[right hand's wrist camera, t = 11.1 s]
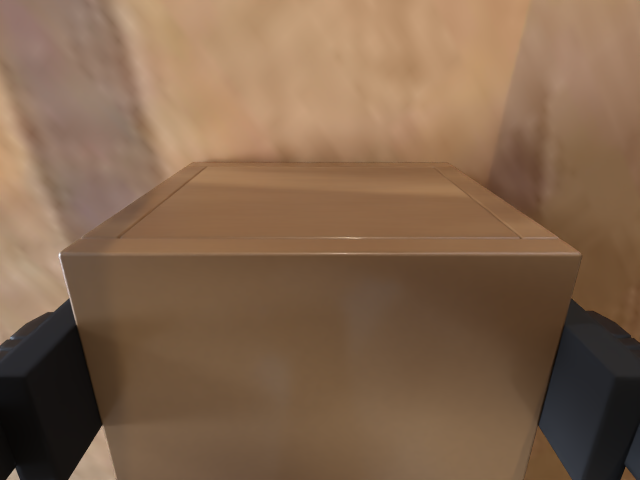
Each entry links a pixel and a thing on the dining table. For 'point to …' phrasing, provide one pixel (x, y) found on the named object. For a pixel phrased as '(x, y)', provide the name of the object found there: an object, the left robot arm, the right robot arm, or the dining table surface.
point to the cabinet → (320, 324)
